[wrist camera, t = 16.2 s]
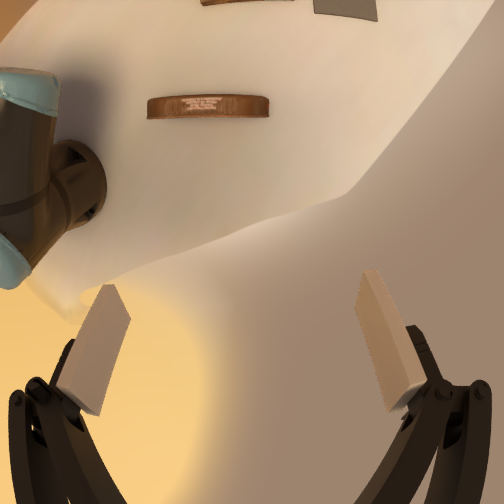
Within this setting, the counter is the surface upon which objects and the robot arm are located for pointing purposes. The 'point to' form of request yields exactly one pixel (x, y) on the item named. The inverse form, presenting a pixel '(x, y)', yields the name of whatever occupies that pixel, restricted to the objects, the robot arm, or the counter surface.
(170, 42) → the counter surface
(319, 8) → the mat
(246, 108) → the tin
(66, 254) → the counter surface
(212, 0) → the slot block
